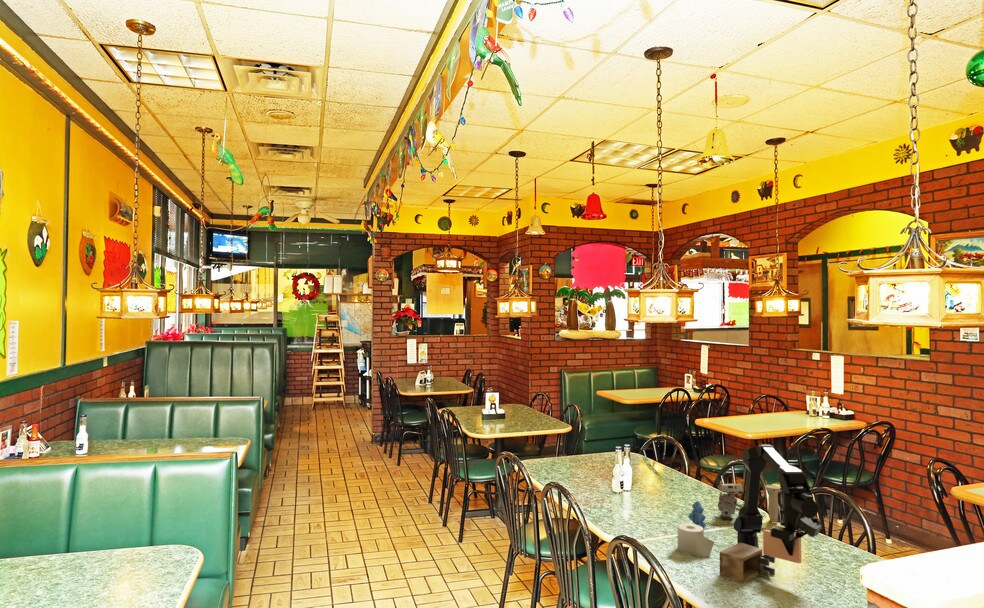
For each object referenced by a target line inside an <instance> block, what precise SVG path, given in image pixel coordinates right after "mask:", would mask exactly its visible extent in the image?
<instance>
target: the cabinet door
mask: <svg viewBox="0 0 984 608" xmlns="http://www.w3.org/2000/svg"><path fill="white" fill-rule="evenodd" d="M762 533H763V534H762V543H763V544H762V545H763V547H762V555H763V554H764V555H768V556H772V557H775V559H780V560H784V561H786V562H787V561H788V562H791V563H796V564H802V562H803V561H802V538H800V537H799V538H798V539H797V540H795V543H794V550H793V555H792V556H790V555H789V554H788V552H787V550H786V548H785V546H784V544H783V542H782V540H781V539H778V538H775V537H771V530H769V529H764V530H762Z"/></svg>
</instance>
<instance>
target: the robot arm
mask: <svg viewBox="0 0 984 608" xmlns="http://www.w3.org/2000/svg"><path fill="white" fill-rule="evenodd" d="M741 457H742V462H743V465H744V466H745V468H746V475H745V476H746V478H745V488H744V498H743V499H744V501H743V502H744V505H743V506H742V508H741V509H740V510H739V511H738V515H737V518H736V519H735V520H734V522H733V524H732V525H733V530H735V531H736V532H737V534H736V535H737V538H736V539H737V543H736V544H738V543H740V542H741V543H744V544H747V545H751V546H754V547H757V548H760V546H759V537H758V534H760V533H761V532H762V528H763V518H764V516H763V515H762V514H761V512H760V510H759V498H760V489H761V488H760V487H761V486H760V485H761V475H762V472H763V471H764V470H765V468H767V464H768V465H769V466H770V467H771V468H772V470H774V471H775V472H776V474H777V477H776V478H777V480H778V482H779V484H780V485H781V486H780V487H781V488H780V490H781V492H782V508H781V509H780V511H779V512H780V514H782V521H780V523H779V524H780V525H777V526H775V527H773V528H771V529H770V531H771V537H775V538H778V539H781V540H782V542H783V544H784V546H785V548H786V550H787V552H788V554H789V555H790V556H792V555H793V550H794V543H795V540H797V539H798V538H799V537H800V538H801V539H802V538H803V537H805V536H806V535H808V536H809V537H810V538H815V537H816V536H819V533H820V531H821V530H823V527H822V526H823V525H822V521H821V519H820V518H818V517H817V515H818V512H819V505H818V503H817V502H816V501H815V500H813V495H811V494H812V491H811V486H810V484H809V482H808V480H807V477H806V474H804V471H802V469H800V468H799V467H796V466H794V465H791V464H790V463H788V462H787V461H786V460H785V459H784V458H783V457H782V456H781V455H780V454H779V453H778V452H777V450H775V447H774V446H773V445H772V444H759V445H756V446H753V447H746V448H745V449H743V452H742V455H741Z"/></svg>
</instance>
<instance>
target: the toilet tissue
mask: <svg viewBox="0 0 984 608" xmlns="http://www.w3.org/2000/svg"><path fill="white" fill-rule="evenodd" d="M714 544H715V541H713V540H711V539H709V538H708V537H705V528H704V529H703V528H702V527H701V526H699V525H696V524H694V523H689V522H688V523H687V522H685V523H684V522H683V523H680V524H678V525H677V550H678V551H679V552H680V553H682V554H685V555H691V556H698V557H710V555H711V554H712V553H711V552H712V551H713V548H714Z"/></svg>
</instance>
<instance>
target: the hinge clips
mask: <svg viewBox="0 0 984 608" xmlns="http://www.w3.org/2000/svg"><path fill="white" fill-rule="evenodd" d="M770 563H772V564H775V563H776V557H772V556H768V555H764V554H763V553H762V555H761V556H759V557H758V574H759V576H761V575H762V576H761V577H764V578H768V579H769V578H770V574H771V575H773V576H774V575H776V568H775V567H772V566H770Z"/></svg>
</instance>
